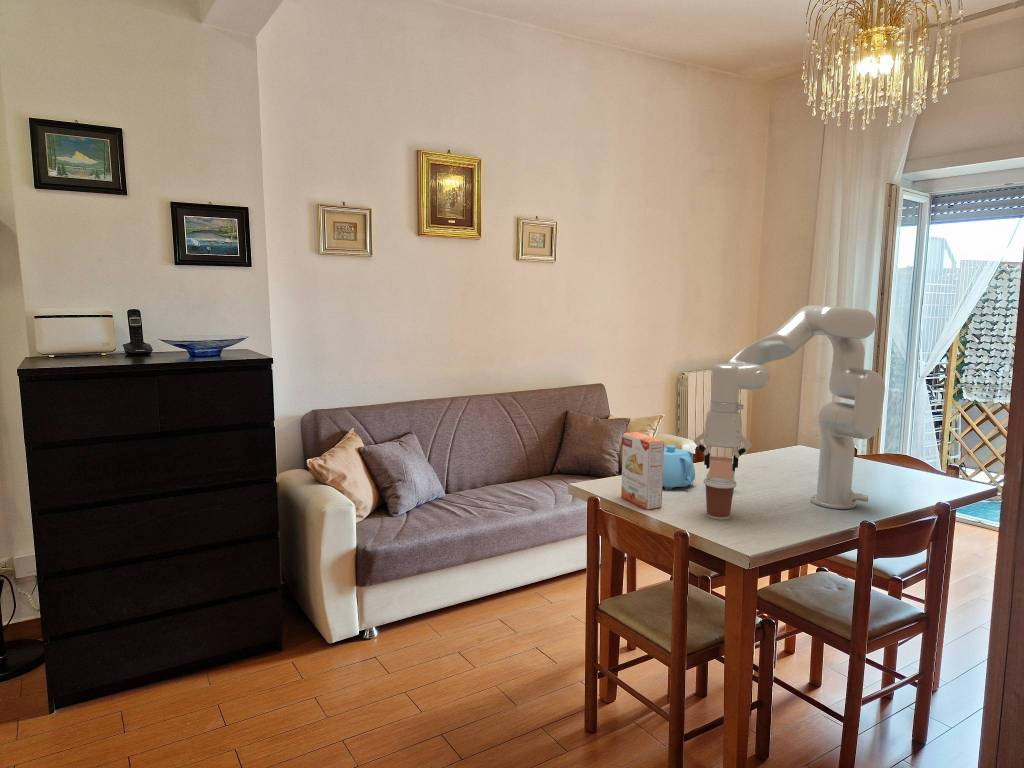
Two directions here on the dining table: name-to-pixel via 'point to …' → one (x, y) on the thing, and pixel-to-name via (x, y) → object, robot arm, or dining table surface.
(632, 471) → the cracker box
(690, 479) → the decorative pot
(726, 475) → the stacking block
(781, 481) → the dining table surface
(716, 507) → the coffee cup
